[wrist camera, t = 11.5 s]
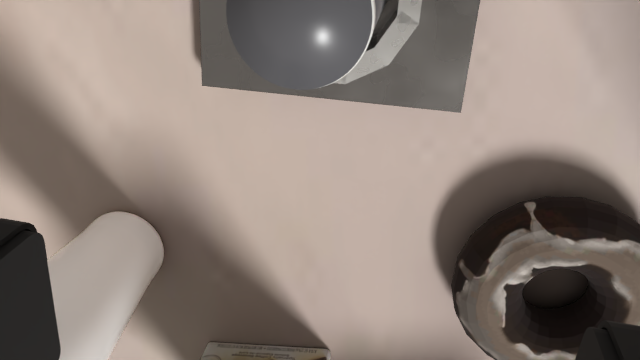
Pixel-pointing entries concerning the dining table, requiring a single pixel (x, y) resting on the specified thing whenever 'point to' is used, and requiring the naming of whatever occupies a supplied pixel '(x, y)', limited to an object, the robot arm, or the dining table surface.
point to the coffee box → (261, 352)
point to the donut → (539, 256)
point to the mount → (369, 57)
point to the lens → (302, 38)
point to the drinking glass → (102, 282)
